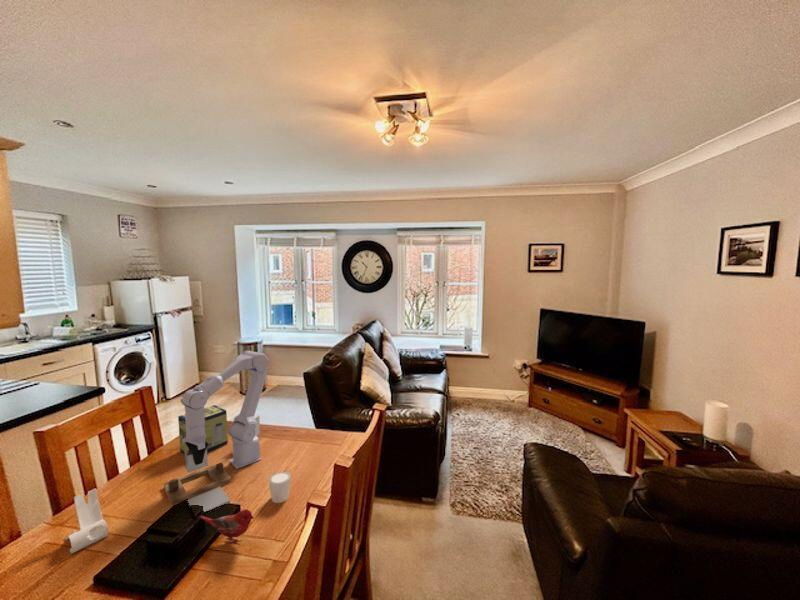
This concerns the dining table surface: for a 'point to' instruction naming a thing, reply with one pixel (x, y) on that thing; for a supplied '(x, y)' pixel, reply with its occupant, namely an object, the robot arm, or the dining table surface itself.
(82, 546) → the plastic part
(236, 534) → the decorative bird figurine
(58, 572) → the dining table surface
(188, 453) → the lever cap
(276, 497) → the white cylinder
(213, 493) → the grey square tile
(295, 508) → the dining table surface
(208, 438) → the protein box
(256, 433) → the skincare box
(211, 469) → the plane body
